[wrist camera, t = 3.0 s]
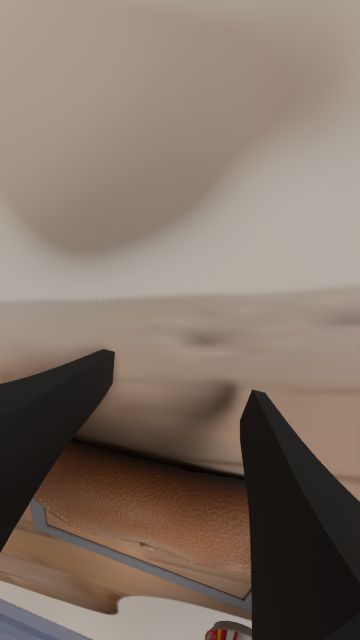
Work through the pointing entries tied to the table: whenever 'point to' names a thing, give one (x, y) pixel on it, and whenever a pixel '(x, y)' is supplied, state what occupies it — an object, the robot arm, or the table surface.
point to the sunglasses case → (151, 505)
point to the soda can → (229, 631)
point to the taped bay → (136, 561)
